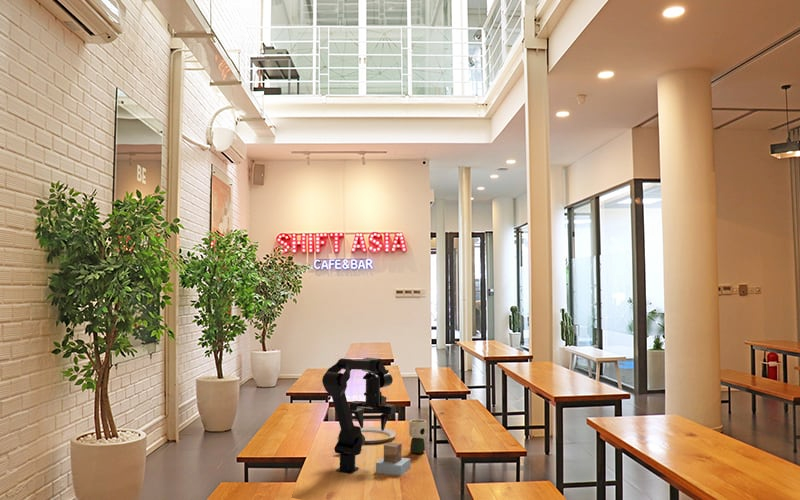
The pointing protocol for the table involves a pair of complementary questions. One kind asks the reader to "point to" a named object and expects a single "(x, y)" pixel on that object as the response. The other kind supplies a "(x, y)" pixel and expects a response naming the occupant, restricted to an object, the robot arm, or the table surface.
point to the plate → (378, 430)
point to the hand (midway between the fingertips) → (372, 429)
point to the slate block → (393, 467)
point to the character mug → (417, 435)
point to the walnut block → (392, 452)
